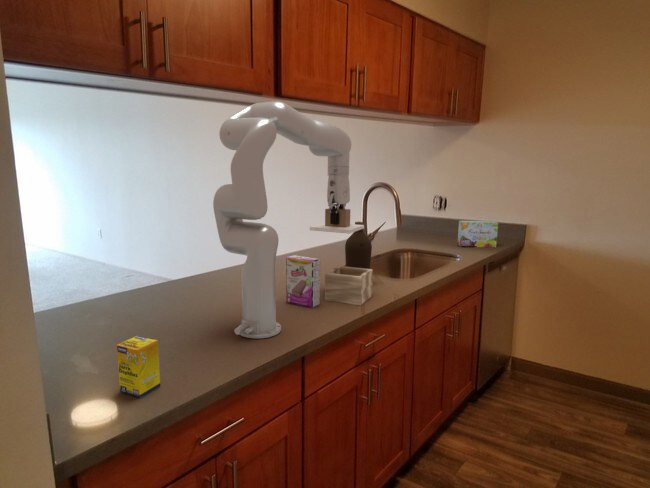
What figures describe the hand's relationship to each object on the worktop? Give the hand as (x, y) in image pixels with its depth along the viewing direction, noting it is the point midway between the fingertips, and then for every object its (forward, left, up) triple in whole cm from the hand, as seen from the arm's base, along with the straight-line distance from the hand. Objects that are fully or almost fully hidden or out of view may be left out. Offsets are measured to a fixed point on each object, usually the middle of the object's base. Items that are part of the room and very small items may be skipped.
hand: (337, 222), depth 162 cm
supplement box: (-82, +12, -27) cm, 87 cm away
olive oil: (+19, -1, -27) cm, 34 cm away
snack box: (+124, -36, -27) cm, 132 cm away
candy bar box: (-14, +7, -27) cm, 31 cm away
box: (-1, -5, -27) cm, 28 cm away
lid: (0, 0, -2) cm, 2 cm away
